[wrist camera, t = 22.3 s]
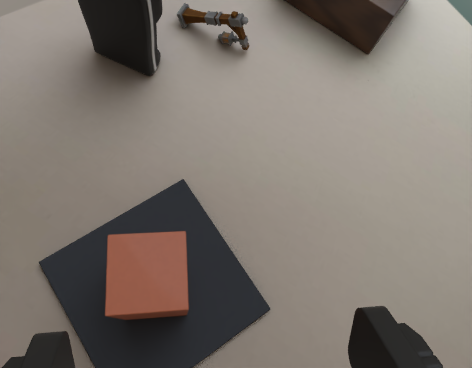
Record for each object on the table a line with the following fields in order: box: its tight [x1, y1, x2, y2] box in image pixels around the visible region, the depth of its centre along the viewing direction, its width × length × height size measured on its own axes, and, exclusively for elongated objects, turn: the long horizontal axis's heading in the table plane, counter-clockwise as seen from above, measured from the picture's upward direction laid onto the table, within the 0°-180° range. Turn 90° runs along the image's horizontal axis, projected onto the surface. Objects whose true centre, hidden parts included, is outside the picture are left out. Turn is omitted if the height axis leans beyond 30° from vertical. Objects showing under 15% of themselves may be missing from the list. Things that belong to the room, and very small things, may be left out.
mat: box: [39, 179, 270, 368], centre depth 33 cm, size 14×14×1 cm
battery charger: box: [78, 0, 162, 76], centre depth 36 cm, size 7×4×11 cm, turn 66°
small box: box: [105, 231, 189, 320], centre depth 29 cm, size 5×5×9 cm
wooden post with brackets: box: [177, 3, 249, 50], centre depth 42 cm, size 2×8×4 cm, turn 64°
